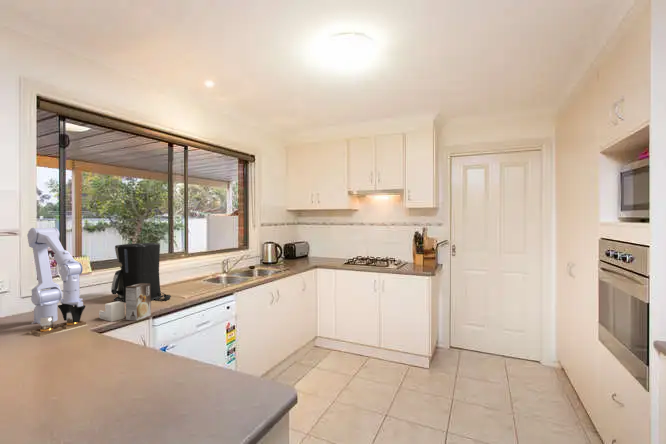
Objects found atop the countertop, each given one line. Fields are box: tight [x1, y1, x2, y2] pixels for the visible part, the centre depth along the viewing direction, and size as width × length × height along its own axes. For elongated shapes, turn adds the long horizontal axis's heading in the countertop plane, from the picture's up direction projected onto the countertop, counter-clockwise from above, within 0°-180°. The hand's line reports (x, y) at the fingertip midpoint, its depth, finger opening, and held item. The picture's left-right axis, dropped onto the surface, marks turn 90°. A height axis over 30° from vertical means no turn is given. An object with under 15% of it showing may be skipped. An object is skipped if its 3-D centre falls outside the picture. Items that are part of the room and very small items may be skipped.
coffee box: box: [125, 283, 152, 321], centre depth 162 cm, size 9×6×16 cm
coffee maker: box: [110, 242, 172, 303], centre depth 203 cm, size 23×32×34 cm
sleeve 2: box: [66, 311, 78, 326], centre depth 148 cm, size 4×4×6 cm
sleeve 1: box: [39, 316, 54, 332], centre depth 139 cm, size 4×4×6 cm
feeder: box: [98, 301, 126, 322], centre depth 160 cm, size 11×6×8 cm, turn 63°
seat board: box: [29, 319, 88, 338], centre depth 143 cm, size 11×17×2 cm, turn 153°
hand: (71, 321), depth 147 cm, fingers open, 7 cm apart
